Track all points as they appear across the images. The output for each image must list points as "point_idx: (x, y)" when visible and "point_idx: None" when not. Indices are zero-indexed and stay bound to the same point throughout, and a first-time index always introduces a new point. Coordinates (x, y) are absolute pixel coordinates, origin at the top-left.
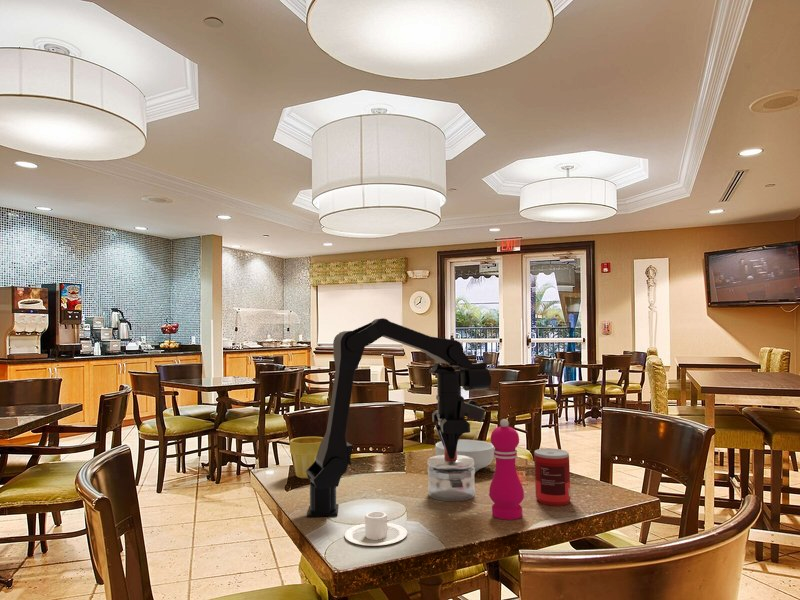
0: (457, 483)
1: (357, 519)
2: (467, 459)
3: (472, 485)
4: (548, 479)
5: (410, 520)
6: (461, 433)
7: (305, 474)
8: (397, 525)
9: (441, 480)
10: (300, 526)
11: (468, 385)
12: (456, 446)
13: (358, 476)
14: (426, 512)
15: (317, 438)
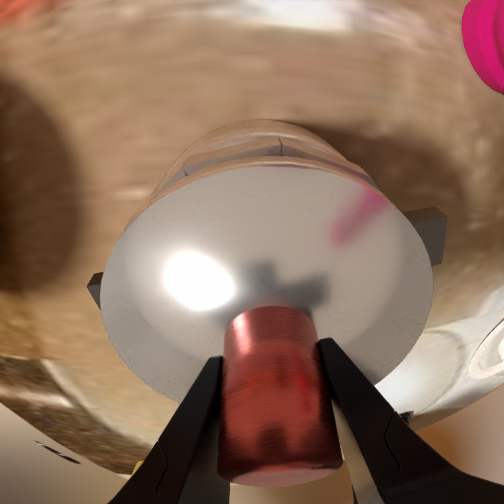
0: (442, 239)
1: (435, 386)
2: (253, 229)
3: (322, 142)
4: None
5: (479, 309)
6: (500, 493)
7: None
8: (501, 324)
9: None
10: (432, 423)
11: None
12: (388, 405)
13: (130, 429)
14: (445, 286)
15: None
